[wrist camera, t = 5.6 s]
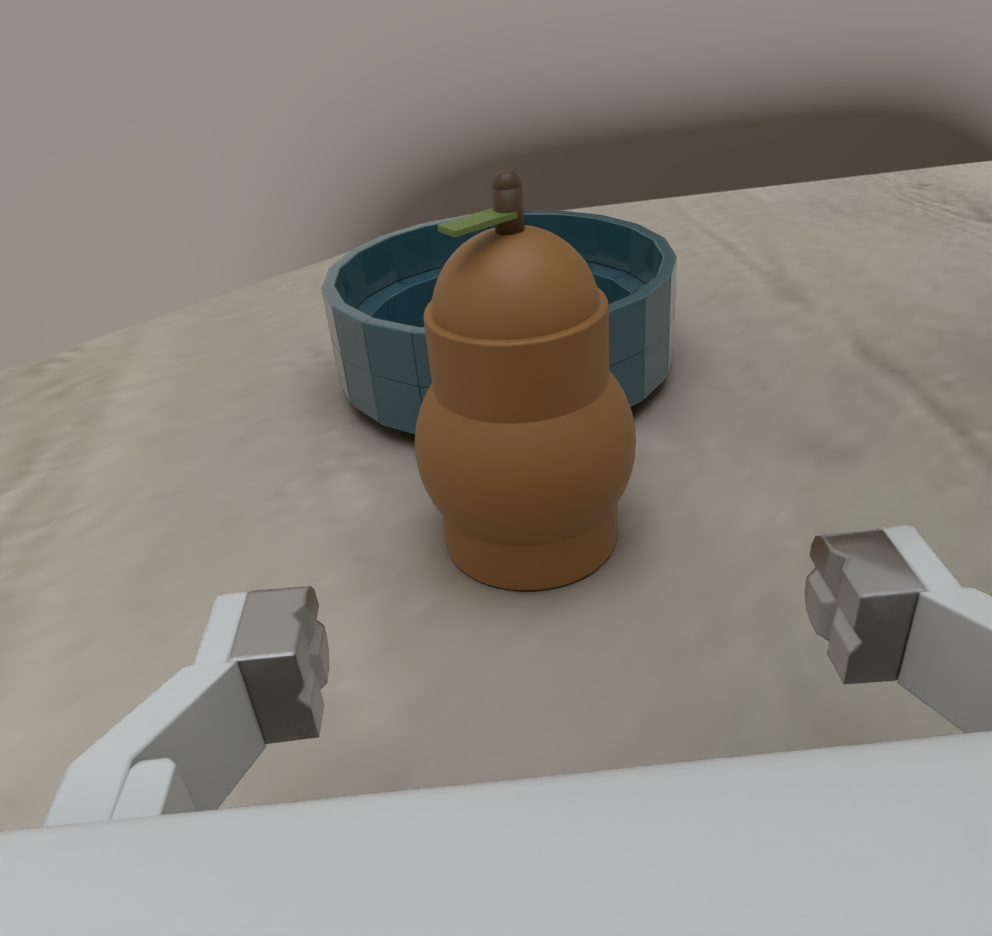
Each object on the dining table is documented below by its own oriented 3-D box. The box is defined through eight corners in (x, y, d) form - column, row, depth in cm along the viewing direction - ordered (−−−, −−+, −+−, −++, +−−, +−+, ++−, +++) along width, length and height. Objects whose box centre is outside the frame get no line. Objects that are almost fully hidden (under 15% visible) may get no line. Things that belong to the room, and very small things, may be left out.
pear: (541, 457, 29) (522, 129, 23) (678, 536, 25) (696, 160, 19) (390, 533, 26) (326, 179, 20) (517, 637, 22) (481, 228, 16)
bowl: (526, 286, 42) (520, 193, 40) (742, 366, 33) (751, 252, 31) (287, 374, 36) (263, 270, 33) (474, 502, 27) (460, 373, 24)
